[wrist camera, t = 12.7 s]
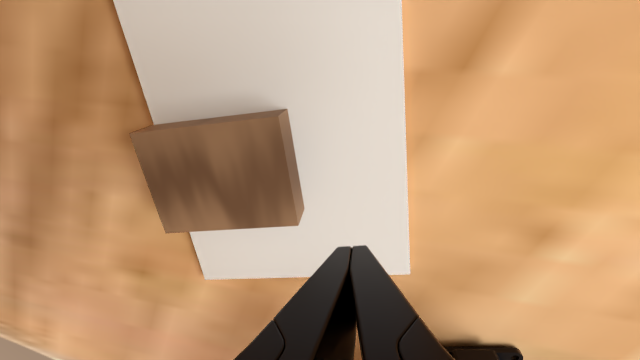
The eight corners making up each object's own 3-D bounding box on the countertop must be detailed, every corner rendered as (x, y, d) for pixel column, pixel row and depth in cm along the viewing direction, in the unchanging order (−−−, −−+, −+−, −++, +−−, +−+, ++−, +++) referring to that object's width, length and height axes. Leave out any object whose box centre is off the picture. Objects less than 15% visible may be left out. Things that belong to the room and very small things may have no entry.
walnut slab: (298, 225, 17) (164, 233, 18) (304, 208, 19) (181, 216, 20) (278, 116, 15) (127, 133, 16) (287, 108, 17) (151, 125, 18)
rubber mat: (408, 268, 20) (410, 274, 20) (208, 274, 23) (205, 279, 22) (397, -68, 14) (399, -73, 13) (116, -12, 16) (108, -15, 16)
